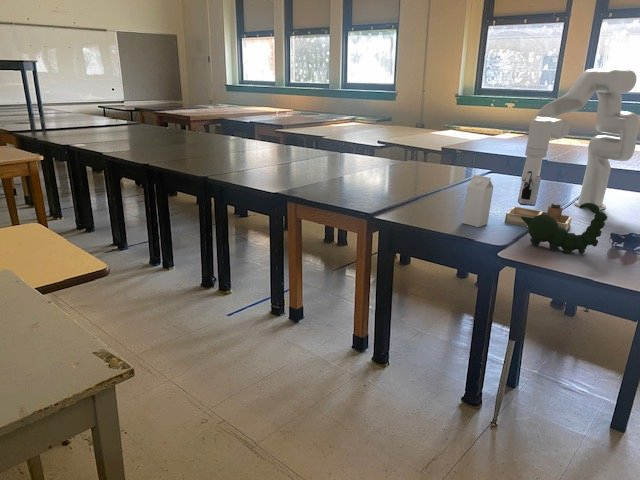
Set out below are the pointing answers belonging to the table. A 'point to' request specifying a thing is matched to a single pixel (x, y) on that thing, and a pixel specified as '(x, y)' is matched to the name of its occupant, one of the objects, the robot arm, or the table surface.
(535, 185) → the supplement box
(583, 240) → the toy figurine
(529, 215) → the box
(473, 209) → the milk carton
